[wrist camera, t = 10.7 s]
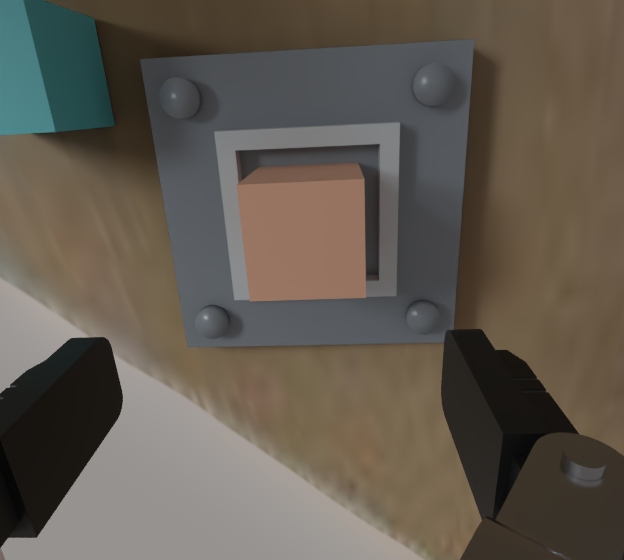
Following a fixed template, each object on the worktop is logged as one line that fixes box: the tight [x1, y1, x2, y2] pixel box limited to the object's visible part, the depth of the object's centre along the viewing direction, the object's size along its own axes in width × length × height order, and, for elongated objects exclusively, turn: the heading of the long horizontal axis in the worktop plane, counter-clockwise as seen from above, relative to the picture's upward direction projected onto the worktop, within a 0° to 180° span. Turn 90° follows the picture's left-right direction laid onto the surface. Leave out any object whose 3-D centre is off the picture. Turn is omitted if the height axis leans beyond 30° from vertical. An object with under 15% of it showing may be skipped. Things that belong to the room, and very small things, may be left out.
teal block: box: [0, 0, 115, 135], centre depth 23 cm, size 6×6×6 cm
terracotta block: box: [237, 162, 366, 301], centre depth 23 cm, size 6×6×6 cm
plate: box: [140, 39, 474, 347], centre depth 26 cm, size 17×17×2 cm
